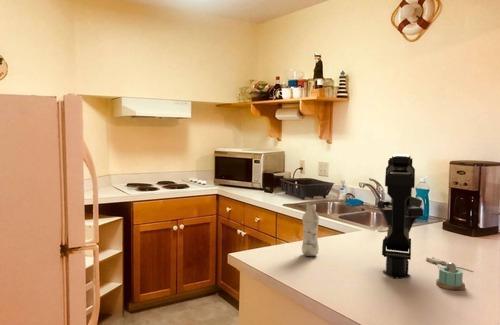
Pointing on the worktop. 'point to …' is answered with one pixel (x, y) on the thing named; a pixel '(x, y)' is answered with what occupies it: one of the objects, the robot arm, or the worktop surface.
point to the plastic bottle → (310, 231)
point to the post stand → (451, 268)
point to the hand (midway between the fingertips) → (398, 231)
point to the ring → (450, 277)
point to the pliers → (439, 262)
